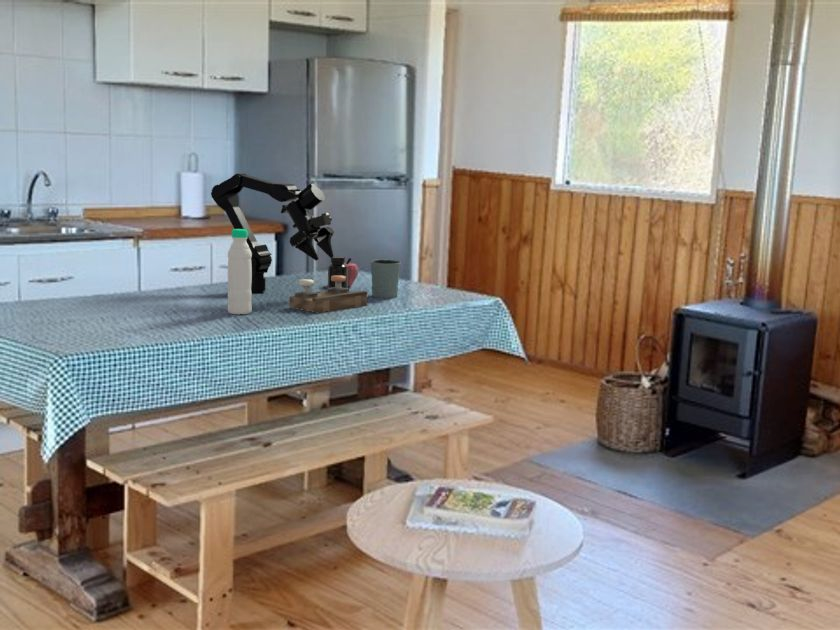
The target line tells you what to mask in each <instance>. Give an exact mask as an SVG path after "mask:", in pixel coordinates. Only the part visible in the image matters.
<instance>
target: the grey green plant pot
mask: <svg viewBox="0 0 840 630" xmlns="http://www.w3.org/2000/svg"><path fill="white" fill-rule="evenodd" d="M401 265H402V261H400V260H396V259H385V258H384V259H383V258H382V259H381V258H380V259H379V258H377V259H373V260H371V261H370V269H371V272H370V273H371V285H372V286H371V296H372V297H373V298H375V297H376V299H388V300H389V299H395V298H398V296H399V295H398V294H399V281H400V279H399V278H400V276H401V275H400V271H401Z"/></svg>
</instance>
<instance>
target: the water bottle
mask: <svg viewBox="0 0 840 630" xmlns="http://www.w3.org/2000/svg"><path fill="white" fill-rule="evenodd" d="M247 237H248V231H247V230H245V229H234V228H233V229H232V230H231V238H232V243H231V244H230V248H229V249H228V251H227V258H228V259H227V260H228V261H227V287H228V289H227V300H228V301H227V312H228V313H229V314H231V315H236V314H237V315H239V316H241V315H242V314H243V315H248V314H251V313H252V310H253V309H252V307H253V305H252V296H253V295H252V292H251V282H252V264H251V257H252V253H251V250H250V248H249V246H248V244H247V242H246V240H247ZM240 314H241V315H240ZM237 315H236V316H237Z"/></svg>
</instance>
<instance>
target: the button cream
mask: <svg viewBox="0 0 840 630" xmlns="http://www.w3.org/2000/svg"><path fill="white" fill-rule="evenodd" d="M298 285H299V286H301V287H302V292H303V293H305V294H308V293H309V292H311V291H310V287H312V286H315V280H314V279H311V278H310V279H309V278H308V279H307V278H306V279H301V278H300V279H299V280H298Z"/></svg>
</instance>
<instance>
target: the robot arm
mask: <svg viewBox="0 0 840 630" xmlns="http://www.w3.org/2000/svg"><path fill="white" fill-rule="evenodd" d="M244 188H246V189H249V190H254V191H256V192H261V193H262V194H266V195H268V196H270V197H271V199H273V200H276V201H278V202H280V203H285V202H289V203H288V204H283V205H281V210H280V214H288V215H289V217H290V219H291V220H292V222H293V224H292V227H293V229H297V230H298V231H297V232H296V233H294V234H292V235H291V236H290V237H289V244H290V245H291V247H292V248H293V247H295V249H298V250H299V251H300V252H303V253H304V254H305V255H307V256H308V257H310V258H311V259H312V260H314V261H316V262H317V261H318V260H320V259H319V256H318V254H317V252H316V250H315V247H314V245H313V241H314V242H316V245H317V246H318V247H319V249H321V250H322V251H323V252H324V253H325V254H326V255H327V256H328V257H329V258H330V259H331V258H332V257H334V252H333V251H334V250H333V247H332V237H333V236H334V234H335V230H334V229H333V227H331V226H330V225H332V223H331V222H332V220H333V217H332V216H331V214H329V212H324V213H321V215H320V216H319V215H318V216H316V217H315V215H313V214H312V215H311V214H310V213H309V212H308V210H309V211H312V210H314V209H315V208H316V207H317V206H318V205H320V204H321V203H322V202H323V201H325V199H326V197H325V194H324V191H323V190H321V189H320V188H319V187H317V186H316V185H315V183H309V184H308V185H307V186H306V187H305V188H304V189H302V190H301V189H299V188H297V185H296V184H294V183H287V182H286V183H285V182H273V181H269V180H266V179H262V178H259V177H255V176H251V175H249V174H246V173H242V172H241V173H235V174H234V175H232V176H231V177H229V178H228V179H226V180H224V181H222V182H221V183H219V184H215V185H213V187H212V188H211V192H210V197H211V198H212V199H213V201H214V203H215V204H216V206H218V208H220V209H222V210H223V211H224V212H225V214H226V216H227V218H228V220H229V221H230V224H231V225H232V227H233V229H245V230H247V231H248V237H247V240H246V242H247V244H248V246H249V248H250V250H251V253H252V257H251V264H252V282H251V292H252V293H253V294H256V293H257V294H264V292H265V291H266V289H267V288H266V287H267V283H266V281H267V279H266V276H265V274H268V270H269V267H271V265H272V262H273V259H272V253H271V252H270V249H269V248H268V246H267V245H266V244H260V243H259V242H258V240H257V238H256V236H255V235H254V232H253V230H252V229H251V227H250V225H249V223H248V220H247V218H245V215H244V213H243V211H242V210H241V208H240V205H239V200H240V198H239V195H238V194H239V193H240V192H241V191H242V190H243V189H244ZM326 225H327V226H326Z"/></svg>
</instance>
